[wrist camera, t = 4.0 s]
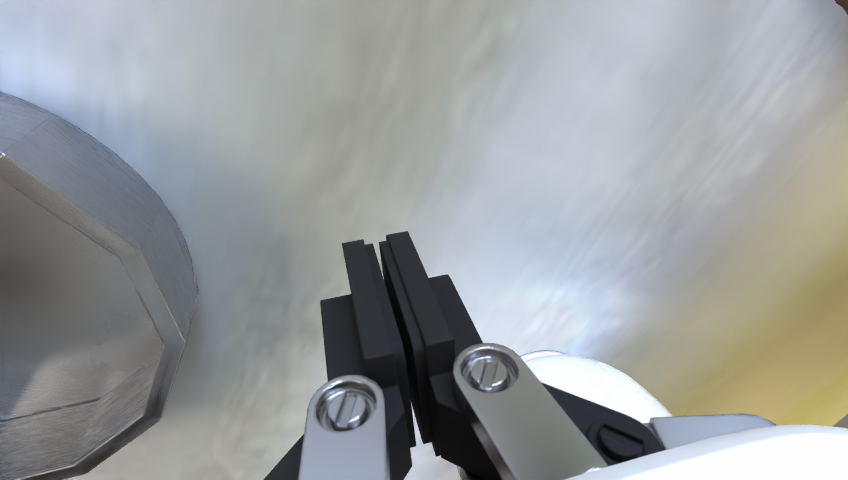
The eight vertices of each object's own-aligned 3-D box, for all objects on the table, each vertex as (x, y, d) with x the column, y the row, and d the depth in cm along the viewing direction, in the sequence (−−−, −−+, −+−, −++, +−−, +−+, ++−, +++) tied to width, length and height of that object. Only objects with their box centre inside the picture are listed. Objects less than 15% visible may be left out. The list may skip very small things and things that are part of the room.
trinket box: (466, 311, 21) (572, 519, 13) (648, 319, 25) (812, 486, 17) (411, 460, 26) (464, 674, 18) (569, 448, 30) (669, 623, 22)
